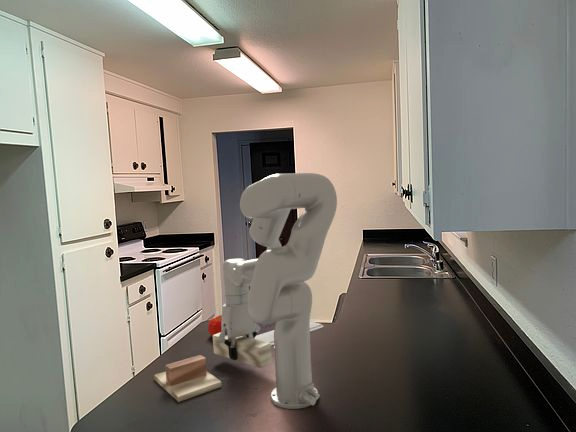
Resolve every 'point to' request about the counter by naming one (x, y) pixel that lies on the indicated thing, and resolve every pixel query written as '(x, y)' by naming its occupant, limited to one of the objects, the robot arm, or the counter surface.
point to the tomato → (215, 325)
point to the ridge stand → (187, 378)
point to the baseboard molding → (270, 335)
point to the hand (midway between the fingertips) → (241, 356)
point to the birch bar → (246, 350)
